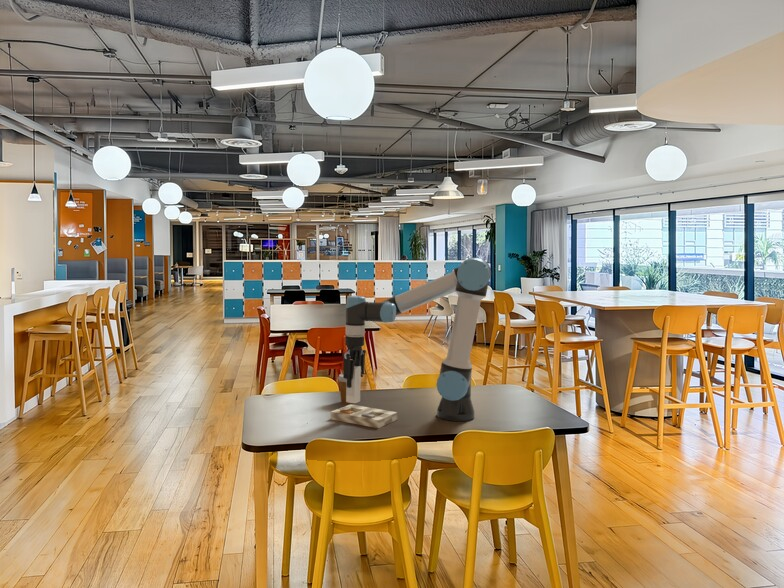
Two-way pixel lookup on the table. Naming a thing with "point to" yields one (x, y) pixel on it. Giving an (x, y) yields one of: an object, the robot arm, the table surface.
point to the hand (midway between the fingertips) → (353, 394)
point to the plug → (355, 386)
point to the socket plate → (364, 416)
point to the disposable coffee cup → (343, 389)
